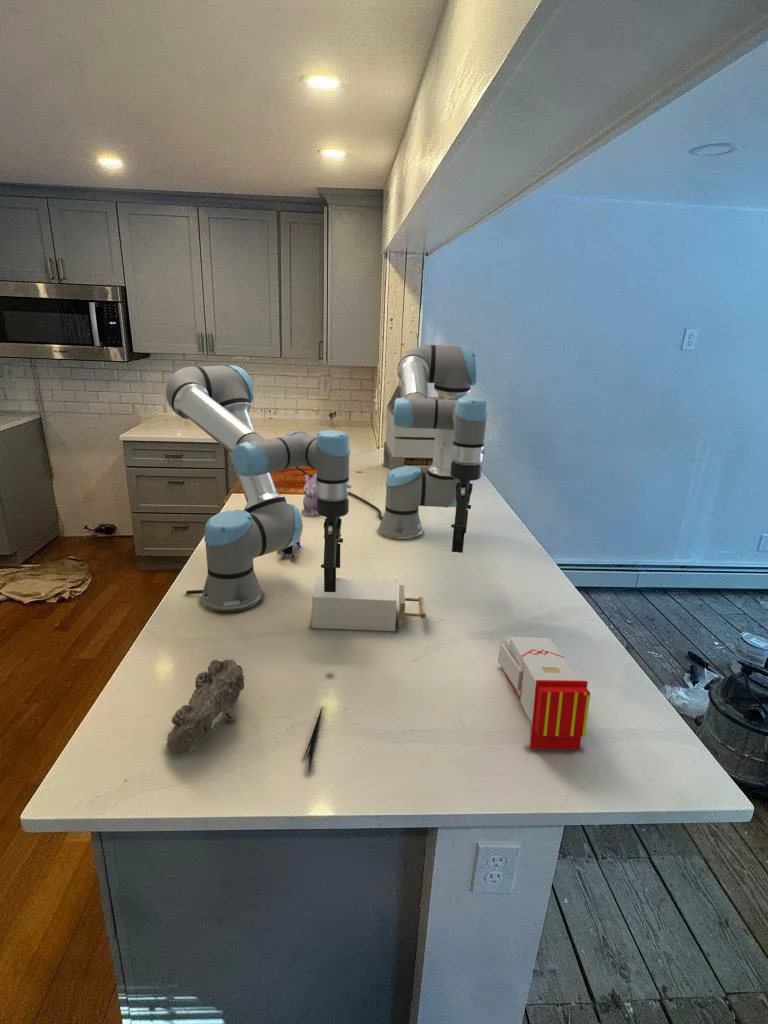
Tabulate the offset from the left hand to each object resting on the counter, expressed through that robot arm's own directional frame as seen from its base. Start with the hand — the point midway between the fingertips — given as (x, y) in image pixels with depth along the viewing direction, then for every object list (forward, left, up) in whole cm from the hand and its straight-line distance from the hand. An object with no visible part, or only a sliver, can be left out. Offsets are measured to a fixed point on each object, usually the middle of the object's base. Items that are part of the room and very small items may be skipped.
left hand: (332, 578), depth 140 cm
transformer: (-2, +142, -11) cm, 142 cm away
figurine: (-31, +72, -11) cm, 79 cm away
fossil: (-10, -42, -11) cm, 44 cm away
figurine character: (-25, +34, -11) cm, 44 cm away
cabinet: (+6, +2, -11) cm, 12 cm away
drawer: (+11, +3, -10) cm, 15 cm away
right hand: (+29, +16, +8) cm, 34 cm away
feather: (+10, -37, -11) cm, 39 cm away
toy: (+50, -19, -11) cm, 55 cm away
